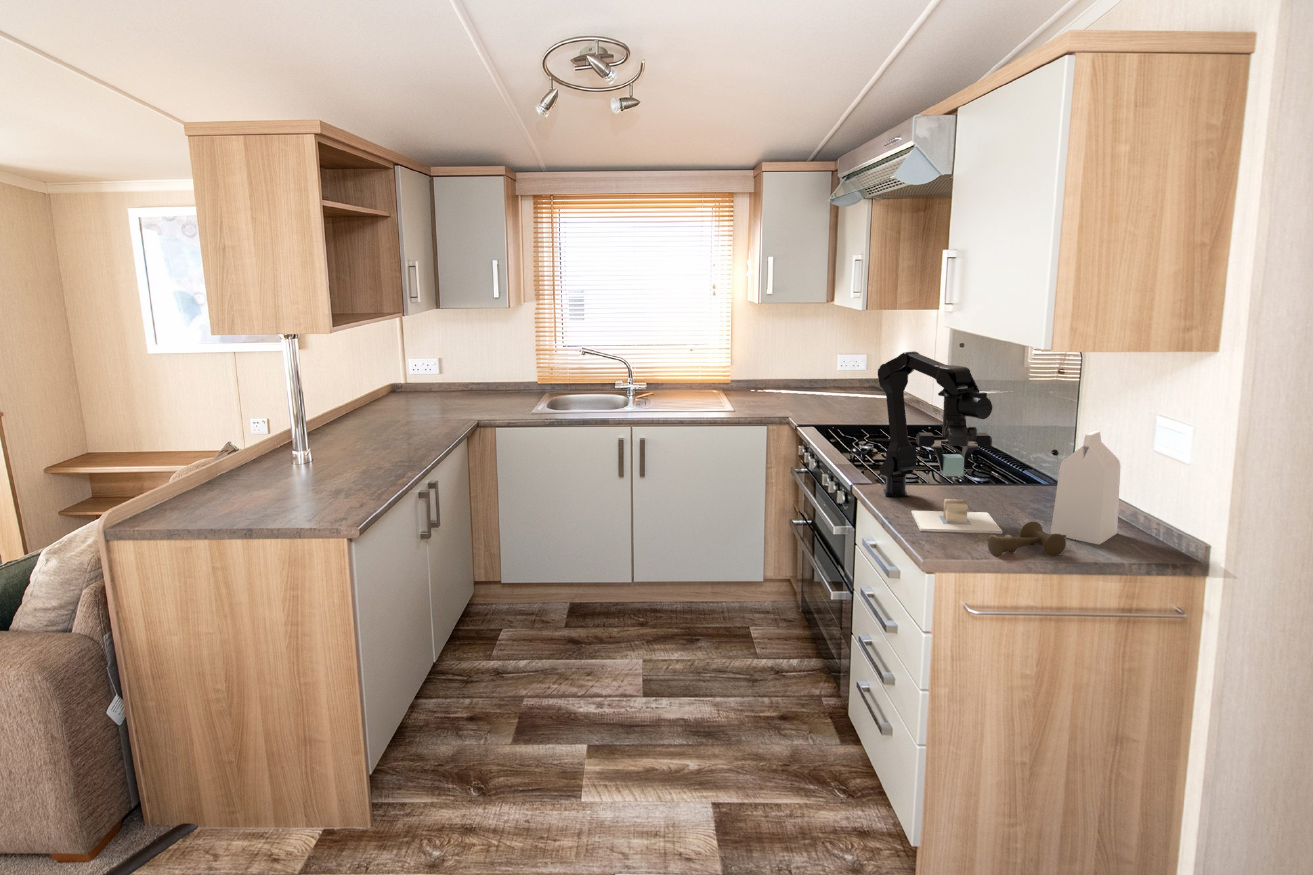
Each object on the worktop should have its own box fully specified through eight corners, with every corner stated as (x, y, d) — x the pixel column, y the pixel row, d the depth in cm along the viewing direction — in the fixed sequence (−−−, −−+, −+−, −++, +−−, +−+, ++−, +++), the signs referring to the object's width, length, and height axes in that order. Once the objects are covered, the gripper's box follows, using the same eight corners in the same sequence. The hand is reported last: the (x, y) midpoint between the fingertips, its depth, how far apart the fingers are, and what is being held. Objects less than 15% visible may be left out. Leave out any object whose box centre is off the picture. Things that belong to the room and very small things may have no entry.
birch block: (943, 516, 216) (944, 499, 215) (962, 517, 216) (963, 499, 215) (946, 522, 212) (947, 504, 211) (966, 523, 211) (967, 504, 210)
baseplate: (911, 512, 223) (911, 510, 223) (987, 514, 220) (987, 512, 220) (920, 531, 208) (920, 528, 208) (1002, 533, 204) (1002, 530, 204)
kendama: (979, 550, 194) (1051, 540, 199) (1004, 565, 185) (1079, 554, 190) (980, 527, 193) (1053, 517, 197) (1006, 541, 184) (1081, 530, 188)
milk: (1069, 523, 211) (1077, 426, 206) (1117, 533, 203) (1126, 432, 198) (1050, 534, 203) (1058, 433, 198) (1099, 544, 195) (1109, 439, 190)
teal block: (940, 471, 222) (941, 454, 221) (959, 472, 222) (960, 454, 221) (944, 476, 218) (944, 458, 217) (963, 476, 217) (964, 458, 216)
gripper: (923, 419, 210) (921, 477, 213) (998, 419, 207) (995, 477, 210) (916, 412, 221) (914, 467, 224) (988, 412, 218) (985, 468, 221)
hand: (952, 470), depth 219 cm, fingers closed on teal block, 5 cm apart
